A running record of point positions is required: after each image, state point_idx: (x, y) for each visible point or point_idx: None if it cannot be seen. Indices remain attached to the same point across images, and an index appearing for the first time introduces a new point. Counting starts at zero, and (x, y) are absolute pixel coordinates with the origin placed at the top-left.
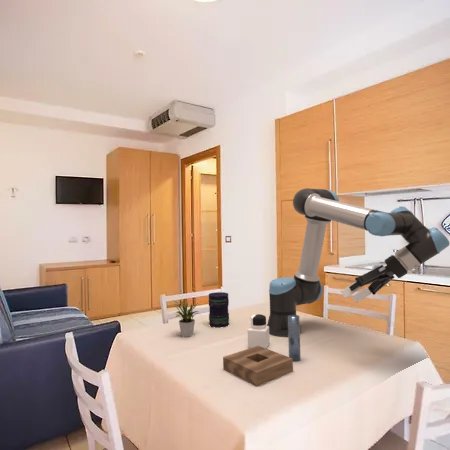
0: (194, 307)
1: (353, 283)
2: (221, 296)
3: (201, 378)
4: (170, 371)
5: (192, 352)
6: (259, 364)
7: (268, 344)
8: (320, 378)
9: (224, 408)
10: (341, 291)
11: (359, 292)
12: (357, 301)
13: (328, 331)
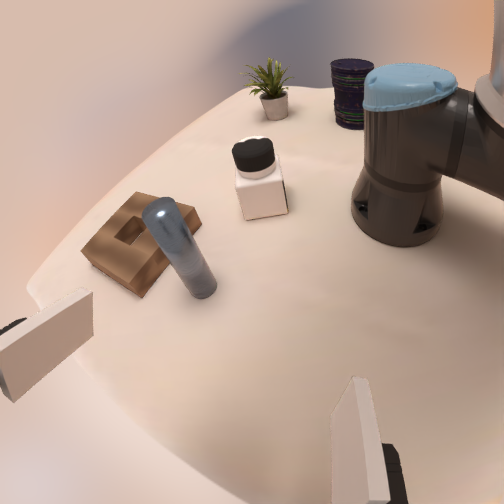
0: (277, 77)
1: (8, 334)
2: (339, 69)
3: (117, 201)
4: (137, 169)
5: (202, 151)
6: (105, 243)
7: (273, 214)
8: (116, 350)
9: (55, 254)
10: (78, 292)
11: (357, 430)
12: (332, 422)
13: (471, 309)
